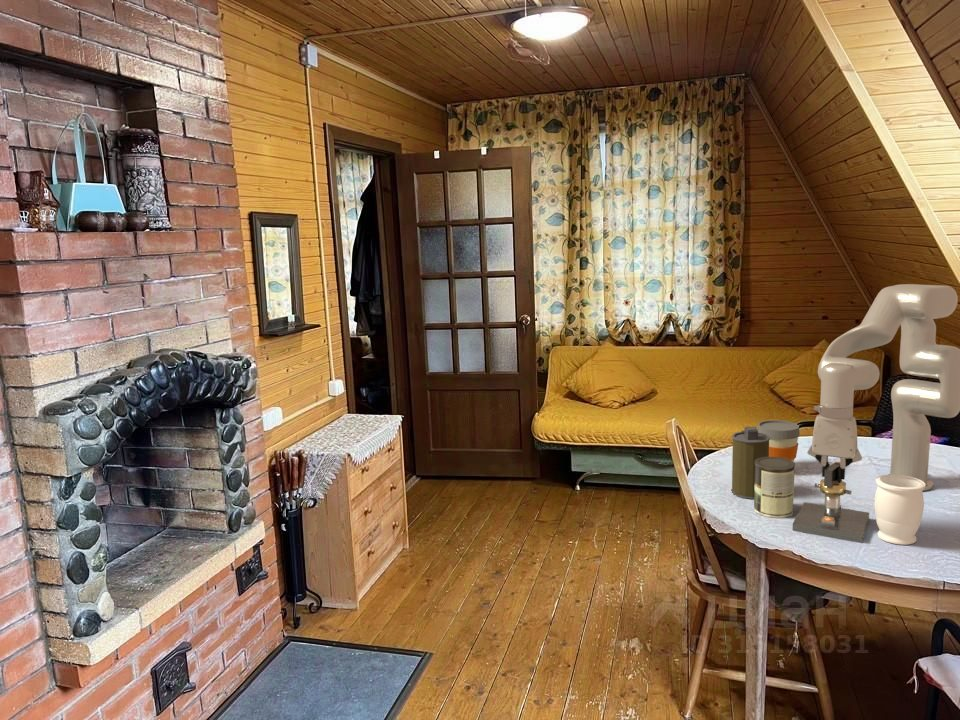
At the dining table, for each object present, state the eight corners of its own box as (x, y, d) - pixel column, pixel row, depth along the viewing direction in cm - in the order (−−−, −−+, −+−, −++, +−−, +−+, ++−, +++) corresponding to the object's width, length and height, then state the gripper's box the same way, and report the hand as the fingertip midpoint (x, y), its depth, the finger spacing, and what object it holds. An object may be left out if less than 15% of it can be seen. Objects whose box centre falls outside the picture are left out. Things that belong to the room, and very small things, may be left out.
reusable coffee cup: (760, 477, 226) (761, 430, 223) (752, 463, 238) (753, 420, 235) (803, 477, 224) (804, 430, 221) (792, 464, 236) (793, 419, 233)
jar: (904, 528, 185) (908, 472, 182) (930, 546, 175) (935, 487, 172) (864, 530, 185) (867, 475, 182) (887, 548, 175) (891, 489, 172)
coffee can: (745, 509, 202) (746, 460, 200) (771, 501, 207) (772, 454, 204) (775, 521, 193) (776, 471, 191) (801, 513, 198) (803, 463, 195)
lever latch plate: (803, 509, 200) (805, 478, 198) (869, 519, 191) (870, 487, 190) (792, 530, 187) (793, 497, 185) (861, 542, 178) (863, 508, 177)
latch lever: (809, 491, 188) (810, 466, 187) (820, 483, 193) (821, 458, 192) (845, 499, 182) (846, 473, 181) (855, 490, 187) (857, 465, 186)
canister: (773, 499, 208) (775, 432, 204) (737, 499, 209) (738, 433, 205) (761, 485, 219) (762, 421, 215) (726, 486, 219) (727, 423, 216)
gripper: (799, 412, 185) (796, 480, 188) (870, 419, 176) (866, 490, 179) (804, 405, 191) (802, 471, 194) (873, 411, 182) (869, 480, 186)
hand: (833, 480), depth 187 cm, fingers closed on latch lever, 2 cm apart
